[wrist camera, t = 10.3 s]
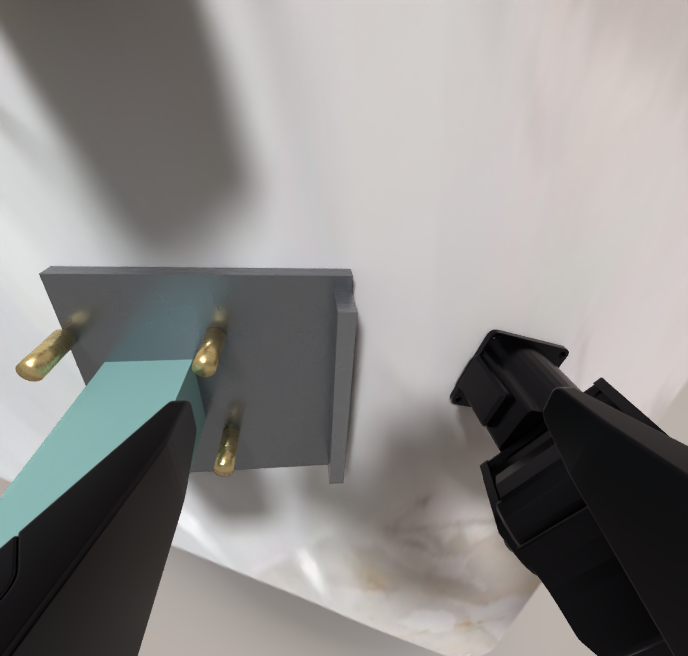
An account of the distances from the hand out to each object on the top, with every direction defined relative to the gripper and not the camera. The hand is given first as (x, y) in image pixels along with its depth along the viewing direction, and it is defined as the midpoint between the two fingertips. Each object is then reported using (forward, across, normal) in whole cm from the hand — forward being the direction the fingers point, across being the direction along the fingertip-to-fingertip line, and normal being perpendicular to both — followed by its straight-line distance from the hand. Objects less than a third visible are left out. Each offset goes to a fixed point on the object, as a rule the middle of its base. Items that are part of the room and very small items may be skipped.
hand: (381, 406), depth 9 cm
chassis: (+13, +7, +10) cm, 18 cm away
